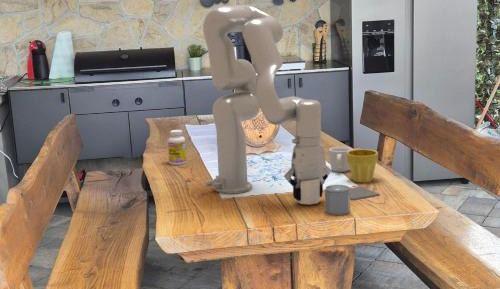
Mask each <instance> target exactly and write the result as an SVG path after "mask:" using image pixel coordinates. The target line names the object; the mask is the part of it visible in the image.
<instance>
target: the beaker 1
mask: <svg viewBox="0 0 500 289" xmlns="http://www.w3.org/2000/svg"><path fill="white" fill-rule="evenodd" d="M297 180H298V179H297ZM299 188H301V200H300V201H298V200H296V199H295V202H297V203H298V204H301V205H314V204H319V202H320V201H321V197H320V180H319V178H314V179H307V180H302V181H301V184H300V186H299Z"/></svg>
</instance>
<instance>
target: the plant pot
mask: <svg viewBox="0 0 500 289" xmlns="http://www.w3.org/2000/svg"><path fill="white" fill-rule="evenodd" d="M347 162H348V163H349V165H350V168H349V170H350V173H351V178H352V181H353V182H356V183H361V184H362V183H369V182H372V181H373V178H374V174H375V169H376V165H377V163H378V162H379V152H378V151H377V150H375V149H369V148H368V149H367V148H358V149H357V148H356V149H351V151H348V152H347Z"/></svg>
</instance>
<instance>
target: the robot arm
mask: <svg viewBox="0 0 500 289" xmlns="http://www.w3.org/2000/svg"><path fill="white" fill-rule="evenodd" d="M202 26H203V27H202V30H203V37H204V40H205V44H206V47H207V53H208V60H209V66H210V72H211V73H210V74H211V79H212V84H213V85H214V87H215V89H217V90H218V91H222V92H226V91H232V90H234V91H235V93H230V94H226V95H223V96H220V97H219V98H217V99H215V101H214V103H213V106H212V117H213V121H214V125H215V132H216V146H217V169H218V172H217V173H218V175H216V176H215V178H214V179H212V180H211V179H210V180H205V181H204V185H205V187H212V188H214V190H215V191H216V192H217V193H220V194H230V195H231V194H243V193H246V192H249V191H251V190H252V189H253V184H252V183H251V182H249V181H248V163H247V162H248V160H247V138H246V133H245V129H244V127H243V125H242V122H245V121H248V120H252V119H254V118H256V117H257V116H258V115H259V113H260V110H261V112H262V115H263V117H264V118H265V120H266V121H267V122H269V124H271V125H274V126H280V125H283V124H286V123H291V122H294V121H295V135H294V136H295V138H293V139H291V141H292V144H295V145H293V149H292V155H291V163H290V164H291V168H289V170H288V171H286V173H285V174H284V176H283V177H284V179H285V180H286V181H287V182H288V183H289V184H290V186H291V187H292V189H293V190H292V195H293V199H294V200H295V201H296V200H298V201H300V200H301V188H299V186H300V184H301V181H302V180H307V179H314V178H319V180H320V198H323V192H324V186H323V185H324V184H325V182H326V180H327V179H328V177H329V176H330V174H331V173H332V169H331V167H329V166H327V162H326V161H327V160H326V153H325V148H324V144H322V143H321V142H322V138H321V137H322V136H321V135H322V134H321V133H322V132H321V131H322V126H321V125H322V124H321V123H322V120H321V119H322V116H321V115H322V105H321V102H320V101H318V100H316V99H306V98H305V99H304V98H302V97H298V96H293V95H291V96H287V97H281V98H279V97H278V94H277V92H276V89H275V83H274V82H275V76H276V74H277V73H278V71H279V70H280V69H281V67H282V66H283V62H284V61H283V58H282V56H281V54H280V52H279V48H278V47H277V45H276V44H278V43H279V42H280V41H281V40H282V39H283V35H284V30H283V26H282V24H281V22H280V21H279V20H278V19H276V17H274V16H272V15H270V14H268V13H266V12H264V11H262V10H260V9H258V8H256V7H255V6H252V5H248V4H236V5H234V4H233V5H231V4H230V5H222V6H221V5H220V6H217V7H215V8H212V9H211V10H210V11H209V12H208V13H207V14H206V16H205V17H204V21H203V24H202ZM230 33H241V35H242V38H243V40H244V43H245V46H246V48H247V51H248V53H249V55H250V58H251V60H252V63H253V64H252V63H251V62H250V61H249V60H247V59H243V58H238V59H237V58H236V52H235V46H234V44H233V41H232V40H231V38H230V37H229V36H228V34H230ZM254 67H255V68H254ZM292 177H293V178H292ZM297 179H298V180H297Z"/></svg>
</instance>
